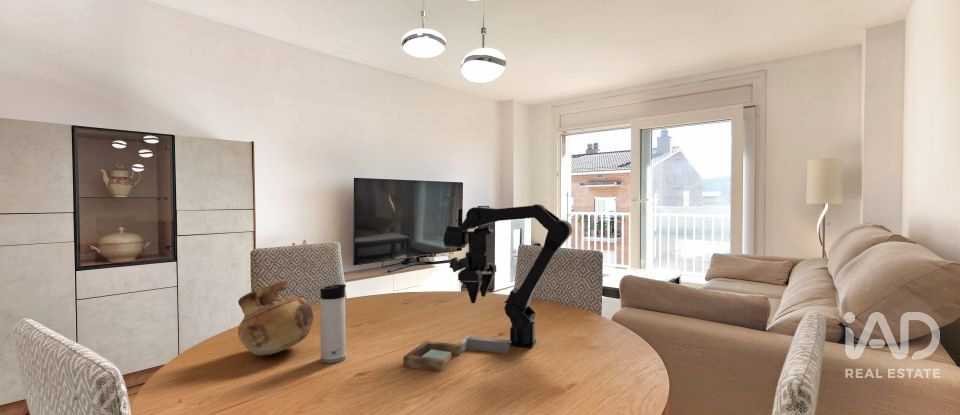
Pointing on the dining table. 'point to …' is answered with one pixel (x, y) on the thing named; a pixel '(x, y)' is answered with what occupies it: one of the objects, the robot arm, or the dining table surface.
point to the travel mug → (332, 323)
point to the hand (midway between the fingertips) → (478, 299)
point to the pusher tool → (485, 344)
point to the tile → (438, 355)
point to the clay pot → (273, 320)
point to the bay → (417, 361)
